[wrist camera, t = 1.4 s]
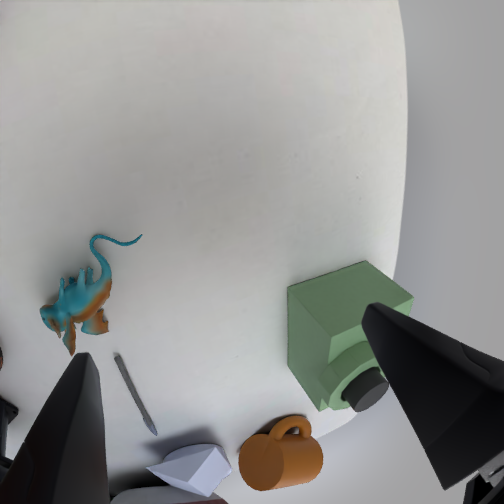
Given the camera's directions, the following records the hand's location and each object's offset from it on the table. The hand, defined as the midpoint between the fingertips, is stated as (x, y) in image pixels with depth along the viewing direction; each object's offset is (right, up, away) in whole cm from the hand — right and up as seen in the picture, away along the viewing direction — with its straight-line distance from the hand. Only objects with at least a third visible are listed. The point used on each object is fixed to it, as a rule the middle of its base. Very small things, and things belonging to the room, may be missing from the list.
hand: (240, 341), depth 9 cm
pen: (-11, -12, +18) cm, 24 cm away
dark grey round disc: (+9, -8, +14) cm, 19 cm away
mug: (+1, -24, +26) cm, 35 cm away
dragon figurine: (-11, 0, +11) cm, 16 cm away
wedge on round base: (-8, -25, +26) cm, 36 cm away
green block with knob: (+8, -4, +22) cm, 24 cm away
